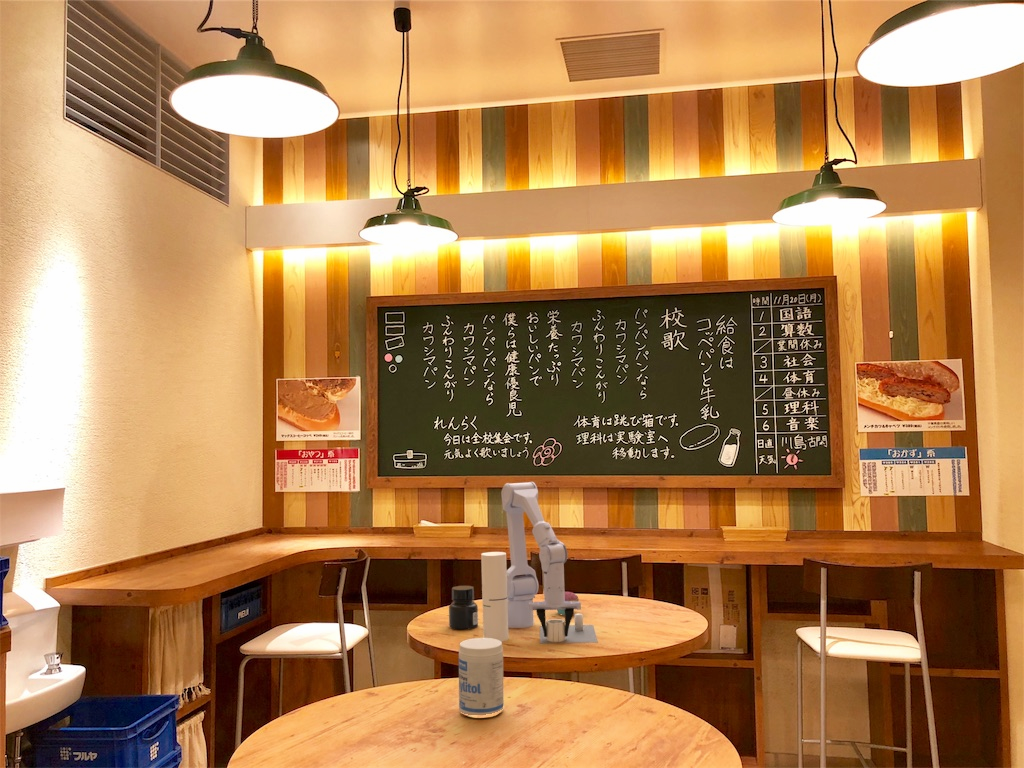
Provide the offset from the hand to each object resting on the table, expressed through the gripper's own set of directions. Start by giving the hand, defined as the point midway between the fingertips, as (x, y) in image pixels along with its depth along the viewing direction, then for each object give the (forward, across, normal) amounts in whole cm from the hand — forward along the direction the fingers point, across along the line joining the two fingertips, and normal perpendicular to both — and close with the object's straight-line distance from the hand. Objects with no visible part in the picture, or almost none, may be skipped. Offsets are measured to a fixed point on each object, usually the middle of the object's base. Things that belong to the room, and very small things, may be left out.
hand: (555, 635), depth 227 cm
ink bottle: (+2, -28, +21) cm, 35 cm away
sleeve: (+1, 0, 0) cm, 1 cm away
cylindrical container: (+2, -17, +2) cm, 17 cm away
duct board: (+2, +4, +6) cm, 7 cm away
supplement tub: (+2, -17, -55) cm, 58 cm away
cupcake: (+2, +4, +36) cm, 36 cm away
